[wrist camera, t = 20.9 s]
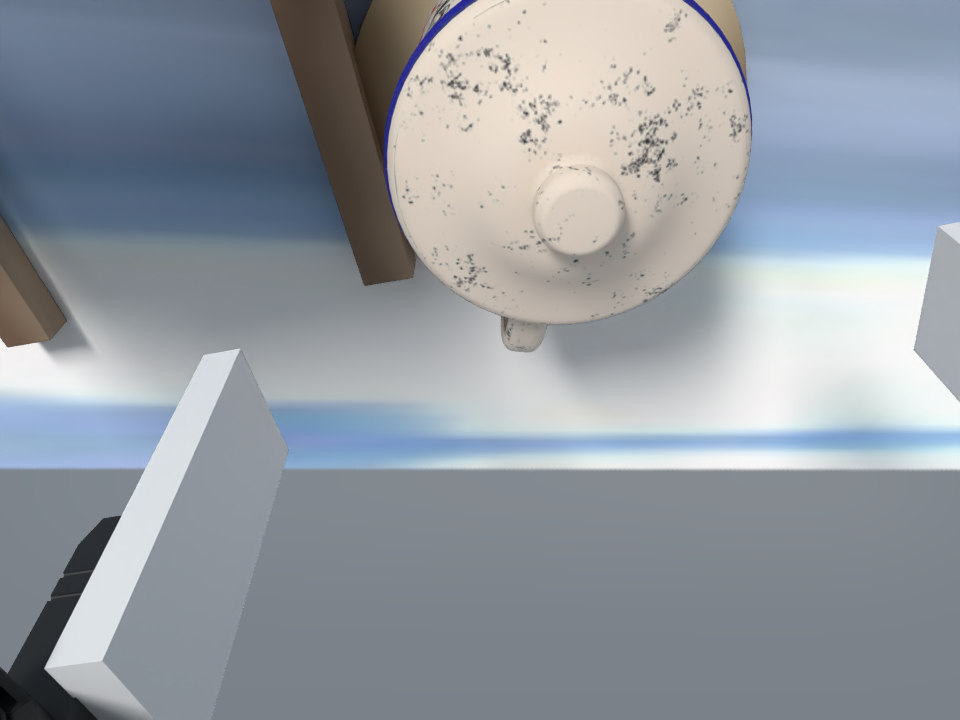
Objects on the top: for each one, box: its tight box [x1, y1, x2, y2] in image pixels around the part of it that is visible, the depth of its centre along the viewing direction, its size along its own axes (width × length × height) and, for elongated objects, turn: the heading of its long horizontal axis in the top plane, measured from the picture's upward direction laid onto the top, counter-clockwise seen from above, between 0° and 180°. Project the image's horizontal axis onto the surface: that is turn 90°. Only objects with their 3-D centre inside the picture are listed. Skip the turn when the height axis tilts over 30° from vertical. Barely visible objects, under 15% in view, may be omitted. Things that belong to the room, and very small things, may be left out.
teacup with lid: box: [383, 0, 752, 352], centre depth 21 cm, size 12×9×12 cm
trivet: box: [354, 0, 746, 160], centre depth 26 cm, size 14×14×1 cm
